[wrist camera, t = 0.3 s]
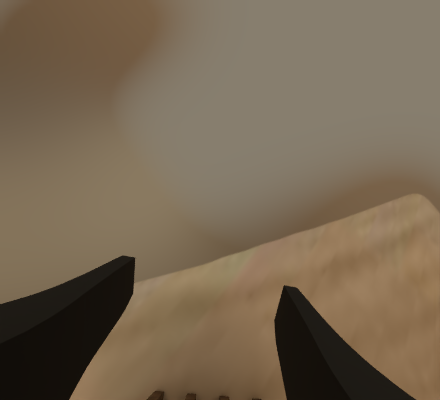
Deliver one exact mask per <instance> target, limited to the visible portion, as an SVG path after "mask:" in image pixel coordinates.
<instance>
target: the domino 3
mask: <svg viewBox="0 0 440 400" xmlns="http://www.w3.org/2000/svg"><path fill="white" fill-rule="evenodd" d="M220 400H229V397H226V396H220Z"/></svg>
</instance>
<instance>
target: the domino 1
mask: <svg viewBox="0 0 440 400" xmlns="http://www.w3.org/2000/svg"><path fill="white" fill-rule="evenodd" d="M163 394H164V392H160V391H155V392H154V393H153V394H152V395H151V396H150V397H149V398H148V399H147V400H163Z"/></svg>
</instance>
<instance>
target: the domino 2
mask: <svg viewBox="0 0 440 400" xmlns="http://www.w3.org/2000/svg"><path fill="white" fill-rule="evenodd" d="M185 400H196V394H187V396H186V398H185Z"/></svg>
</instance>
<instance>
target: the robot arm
mask: <svg viewBox="0 0 440 400" xmlns="http://www.w3.org/2000/svg"><path fill="white" fill-rule="evenodd" d="M134 270H135V258H134V257H128V256H121V257H118V258H116V259H114V260H112V261H110V262H108V263H106V264H104V265H102V266H100V267H98V268H96V269H94V270H92V271H90V272H88V273H86V274H83V275H81V276H79V277H77V278H74V279H72V280H70V281H67V282H65V283H63V284H60V285H58V286H56V287H53V288H50V289H48V290H45V291H42V292H39V293H36V294H34V295H30V296H27V297H24V298H20V299H17V300H14V301H10V302H7V303H3V304H0V400H69V399H70V397H71V395H72V393H73V391H74V390H75V388H76V386H77V384H78V382H79V381H80V379H81V377H82V375H83V373H84V372H85V370H86V368H87V366H88V365H89V363H90V362H91V360H92V358H93V357H94V355H95V354H96V352H97V351H98V349H99V348H100V347H101V345H102V344H103V342H104V341H105V339H106V338H107V336H108V335H109V333H110V332H111V330H112V329H113V327H114V326H115V324H116V323H117V321H118V320H119V318H120V317H121V315H122V314H123V312H124V310H125V309H126V307H127V305H128V303H129V301H130V299H131V297H132V295H133V288H134ZM274 322H275V337H276V345H277V351H278V356H279V361H280V367H281V372H282V377H283V382H284V387H285V392H286V398H287V400H416V399H414V398H413V397H411V396H410V395H409V394H407V393H406V392H405V391H403V390H402V389H401V388H399V387H398V386H396V385H395V384H394V383H393V382H391V381H390V380H389V379H388V378H386V377H385V376H384V375H383V374H381V373H380V372H379V371H378V370H376V369H375V368H374V367H373V366H372V365H370V364H369V363H368V362H367V361H366V360H365V359H363V358H362V357H361V356H360V355H359V354H358V353H357V352H356V351H355V350H353V349H352V348H351V347H350V346H349V345H348V344H347V343H346V342H345V341H344V340H343V339H342V338H341V337H340V336H339V335H338V334H337V333H336V332H335V331H334V330H333V329H332V328H331V326H330V325H329V324H328V323H327V322H326V321H325V320H324V319H323V318H322V317H321V315H320V314H319V313H318V312H317V311H316V310H315V308H314V307H313V306H312V305H311V304H310V302H309V301H308V300H307V299H306V298H305V296H304V295H303V294H302V293H301V292H300V291H299V289H298V288H296V287H290V286H285V285H284V287H283V290H282V294H281V298H280V302H279V305H278V309H277V313H276V316H275V320H274Z"/></svg>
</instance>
